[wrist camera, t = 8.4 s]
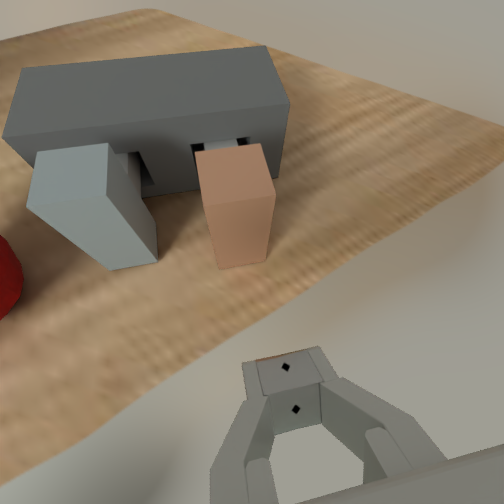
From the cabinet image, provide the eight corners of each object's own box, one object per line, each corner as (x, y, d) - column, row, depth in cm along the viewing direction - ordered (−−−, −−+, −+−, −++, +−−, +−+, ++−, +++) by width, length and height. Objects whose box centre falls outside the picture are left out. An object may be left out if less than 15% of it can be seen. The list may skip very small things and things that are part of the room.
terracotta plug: (219, 269, 22) (203, 206, 13) (204, 179, 26) (184, 89, 18) (265, 261, 22) (276, 194, 14) (242, 173, 26) (241, 83, 18)
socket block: (74, 208, 24) (1, 137, 17) (80, 148, 28) (22, 68, 20) (277, 177, 26) (290, 103, 19) (260, 125, 30) (265, 45, 23)
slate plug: (109, 270, 21) (25, 206, 13) (112, 179, 26) (50, 88, 17) (158, 261, 22) (106, 195, 14) (153, 173, 26) (110, 82, 18)
